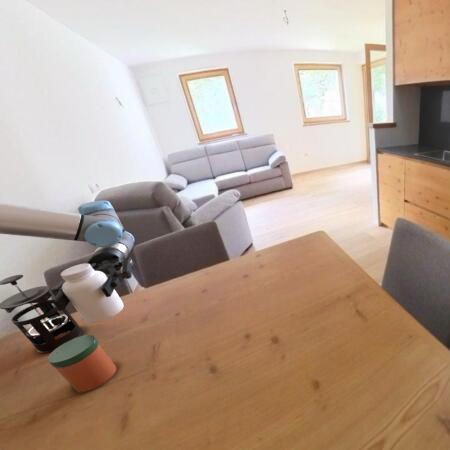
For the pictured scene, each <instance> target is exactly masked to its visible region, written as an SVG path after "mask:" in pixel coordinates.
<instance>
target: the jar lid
mask: <svg viewBox="0 0 450 450" xmlns="http://www.w3.org/2000/svg"><path fill="white" fill-rule="evenodd" d="M98 344H99V345H100V343H99V340H98V339H97V338H96V336H95V335H93V334H84V335H81V336H80V337H77V338H74V339H72V340H70V341H68V342H66V343H64V344H62V345H61V346H59V347H58V348H56V349H55V350H54V351H53V352H51V353H49V355H48V357H47V362H48V363H49V364H50V365H51V366H52V367H53V368H55V367H56V368H61V367H66V366H69V365H72V364H74V363H76V362H78V361H80V360H82V359H84V358H85V357H87V356H88V355H90V354H91V353H92V352H93V351H94V350H95V349H96V348H97V347H98ZM56 368H55V369H56Z"/></svg>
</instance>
